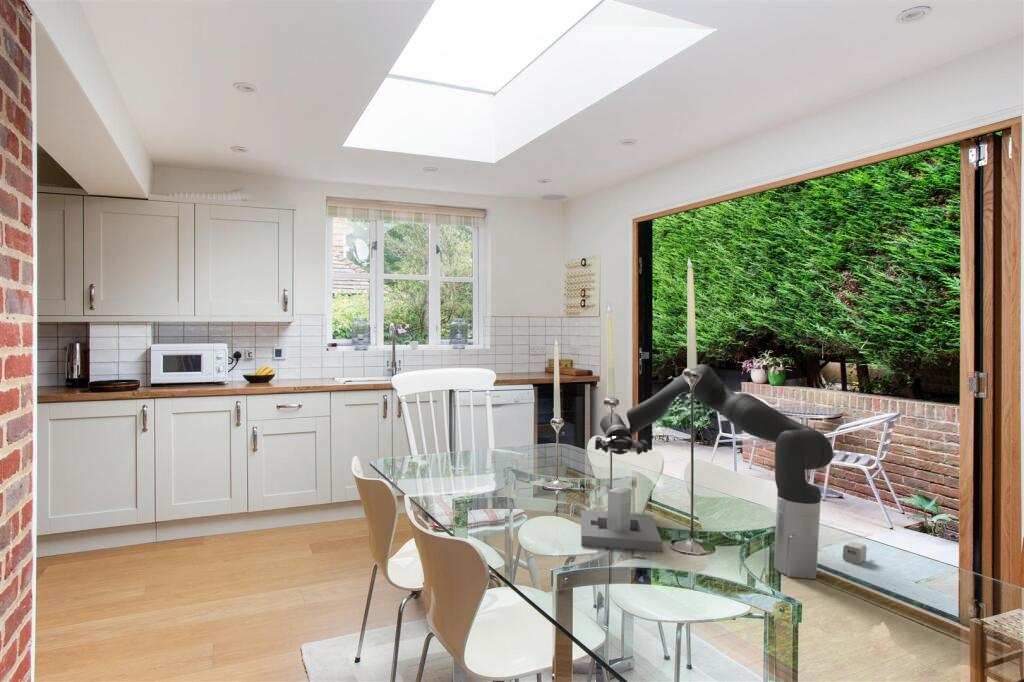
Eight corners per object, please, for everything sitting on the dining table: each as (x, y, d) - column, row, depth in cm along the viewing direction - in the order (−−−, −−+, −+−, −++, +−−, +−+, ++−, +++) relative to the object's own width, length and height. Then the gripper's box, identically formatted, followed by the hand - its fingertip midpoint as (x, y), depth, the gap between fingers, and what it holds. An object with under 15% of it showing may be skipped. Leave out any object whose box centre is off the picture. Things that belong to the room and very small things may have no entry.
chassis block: (661, 551, 154) (662, 541, 154) (581, 545, 156) (581, 535, 156) (651, 523, 176) (651, 514, 176) (580, 518, 178) (581, 509, 178)
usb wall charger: (842, 560, 153) (843, 544, 153) (851, 553, 158) (852, 538, 158) (860, 565, 150) (861, 549, 150) (869, 558, 155) (869, 542, 155)
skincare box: (616, 529, 170) (618, 486, 170) (630, 532, 167) (632, 489, 167) (605, 534, 165) (607, 490, 165) (619, 538, 162) (621, 493, 162)
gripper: (594, 424, 180) (596, 434, 164) (644, 427, 179) (650, 437, 163) (593, 450, 180) (595, 462, 164) (642, 453, 179) (649, 465, 163)
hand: (622, 449), depth 164 cm, fingers open, 8 cm apart
